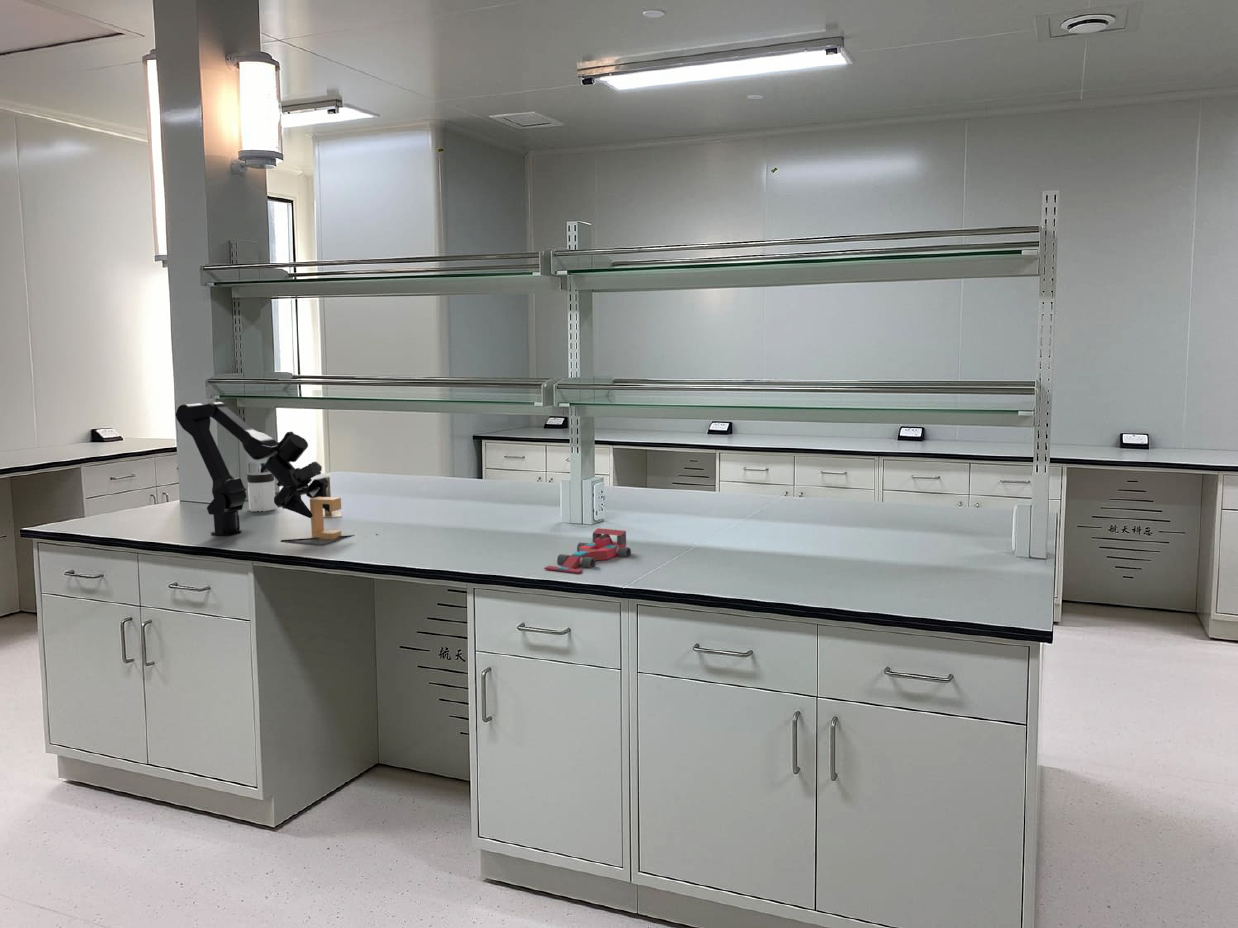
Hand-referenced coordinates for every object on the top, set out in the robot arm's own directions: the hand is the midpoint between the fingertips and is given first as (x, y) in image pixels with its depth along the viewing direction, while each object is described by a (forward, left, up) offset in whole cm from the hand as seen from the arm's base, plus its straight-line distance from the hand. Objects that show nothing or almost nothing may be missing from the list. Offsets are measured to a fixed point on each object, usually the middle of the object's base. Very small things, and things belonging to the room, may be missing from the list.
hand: (321, 513), depth 270 cm
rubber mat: (0, +1, -7) cm, 7 cm away
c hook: (0, -1, -7) cm, 7 cm away
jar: (+31, +50, -7) cm, 59 cm away
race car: (0, -81, -8) cm, 81 cm away
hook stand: (+20, +14, -7) cm, 26 cm away
